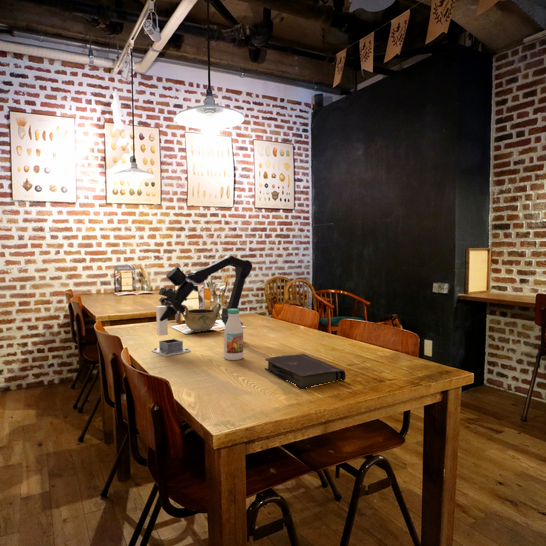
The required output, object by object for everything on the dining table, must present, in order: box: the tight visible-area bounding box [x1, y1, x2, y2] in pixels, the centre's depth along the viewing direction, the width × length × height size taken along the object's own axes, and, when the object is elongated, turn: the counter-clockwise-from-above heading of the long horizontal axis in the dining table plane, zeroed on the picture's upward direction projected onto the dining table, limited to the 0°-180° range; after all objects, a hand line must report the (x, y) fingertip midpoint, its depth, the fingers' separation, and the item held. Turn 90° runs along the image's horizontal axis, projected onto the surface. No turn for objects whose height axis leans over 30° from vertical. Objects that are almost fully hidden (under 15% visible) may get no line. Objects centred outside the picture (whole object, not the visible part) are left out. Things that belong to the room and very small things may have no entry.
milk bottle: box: [223, 308, 244, 361], centre depth 173 cm, size 8×8×20 cm
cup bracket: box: [151, 338, 191, 357], centre depth 184 cm, size 12×12×4 cm
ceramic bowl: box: [181, 302, 222, 333], centre depth 228 cm, size 22×17×15 cm
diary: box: [264, 353, 347, 390], centre depth 151 cm, size 19×25×5 cm
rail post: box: [155, 305, 169, 337], centre depth 187 cm, size 4×4×12 cm
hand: (158, 319), depth 186 cm, fingers closed on rail post, 4 cm apart
